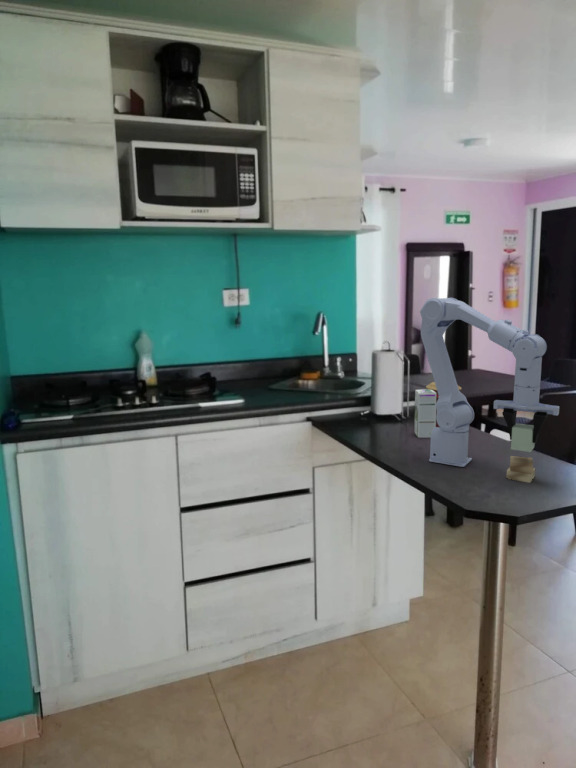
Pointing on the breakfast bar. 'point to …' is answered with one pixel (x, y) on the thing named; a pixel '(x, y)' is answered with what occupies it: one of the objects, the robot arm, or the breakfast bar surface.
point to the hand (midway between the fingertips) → (523, 440)
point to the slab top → (521, 464)
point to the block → (522, 437)
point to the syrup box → (425, 412)
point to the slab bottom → (520, 476)
